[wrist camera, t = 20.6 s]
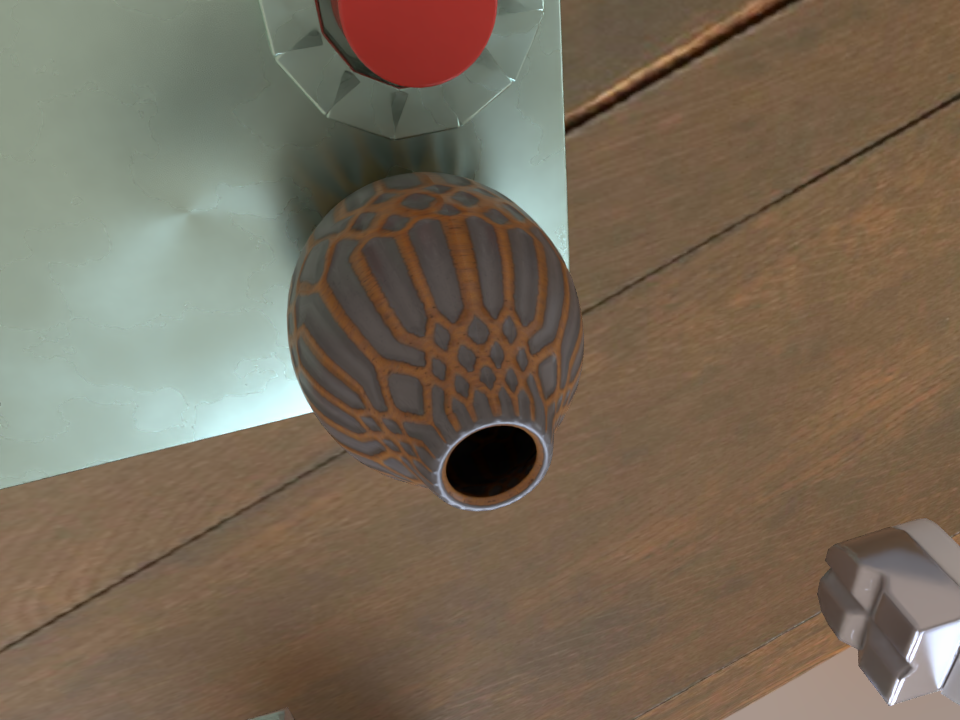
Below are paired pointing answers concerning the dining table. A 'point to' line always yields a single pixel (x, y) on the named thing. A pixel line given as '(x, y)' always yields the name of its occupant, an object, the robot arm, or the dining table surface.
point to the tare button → (416, 36)
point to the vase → (437, 336)
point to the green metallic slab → (213, 201)
